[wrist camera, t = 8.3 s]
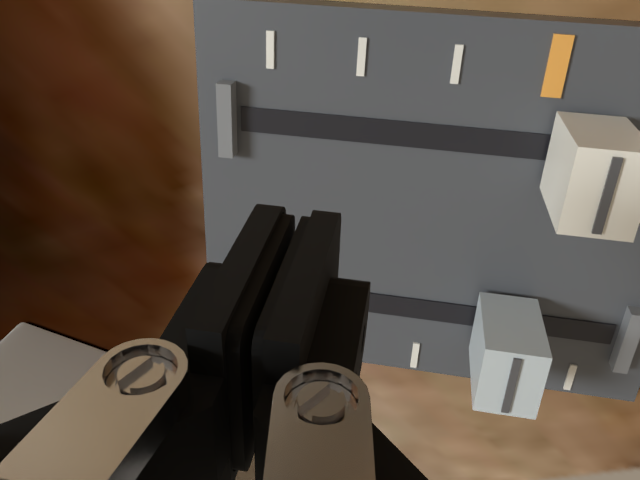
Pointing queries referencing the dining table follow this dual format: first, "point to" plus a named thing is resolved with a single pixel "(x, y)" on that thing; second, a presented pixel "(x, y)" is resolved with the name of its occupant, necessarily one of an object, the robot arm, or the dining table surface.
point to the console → (425, 166)
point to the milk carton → (39, 369)
